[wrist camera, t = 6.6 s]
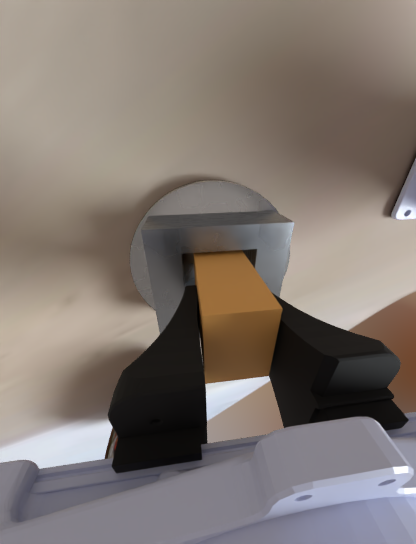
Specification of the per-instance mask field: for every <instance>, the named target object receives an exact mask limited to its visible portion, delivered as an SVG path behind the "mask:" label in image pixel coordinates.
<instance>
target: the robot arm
mask: <svg viewBox="0 0 416 544" xmlns="http://www.w3.org/2000/svg"><path fill="white" fill-rule="evenodd" d="M404 213H405V214H404ZM391 216H392V218H393V219H397V220H402V219H416V159H415V161H414V163H413V165H412V168H411V170H410V172H409V175H408V177H407V179H406V182H405V184H404V186H403V188H402V191H401V193H400V195H399V198H398V200H397V202H396V204H395V207H394V209H393V211H392V214H391ZM271 293H272V292H271ZM272 294H273V293H272ZM273 296H274V297H275V298H276V300H277V301H278V303H279V304H280V306H281V307H282V308H283V309H282V314H281V319H280V324H279V329H278V334H277V338H276V343H275V348H274V353H273V358H272V363H271V367H270V372H269V377H270V380H271V383H272V386H273V389H274V393H275V397H276V400H277V403H278V407H279V410H280V414H281V418H282V422H283V426H284V428H283V429H279V430H275V431H273V432H271V433H269V434H267V435H261V436H254V437H247V438H241V439H235V440H228V441H222V442H214V443H208V444H207V414H206V387H205V377H204V369H203V362H202V354H201V347H200V329H199V309H198V292H197V286H196V285H190V286H186V287H185V291H184V294H183V297H182V299H181V302H180V304H179V306H178V308H177V310H176V312H175V313H174V315H173V317H172V319H171V320H170V322H169V323H168V325H167V326H166V328H165V329H164V330H163V331H162V333H161V334H160V335H159V337H158V338H157V339H156V340H155V341H154V342H153V343H152V344H151V346H150V347H149V348H148V349H147V350H146V351H145V352H144V353H143V354H142V355H141V356H140V357H139V358H137V359H136V360H135V361H134V362H133V363H132V364H131V365H129V366H128V367H127V368H126V369H125V370H123V372H122V375H121V377H120V379H119V381H118V384H117V386H116V388H115V391H114V394H113V397H112V401H111V405H110V408H109V412H108V417H109V421H110V423H111V425H112V426H113V428H114V430H115V432H116V434H117V436H118V440H117V445H116V449H115V453H114V458H109V459H102V460H96V461H89V462H82V463H76V464H69V465H63V466H56V467H50V468H43V469H39V468H38V466H37V465H36V464H35V463H34V462H32V461H29V460H17V461H10V462H3V463H0V544H416V412H412V413H406V414H403V412H402V411H401V410H400V409H399V408H398V407H397V406H396V404H395V403H394V402H393V401H392V400H391V399H393V398H394V395H393V394H392V392H391V391H390V390H389V389H388V388H387V387H388V385H389V384H390V382H391V381H392V380H393V378H394V377H395V375H396V374H397V373H398V371H399V369H400V360H399V358H398V357H397V356H396V355H395V354H394V353H393V352H392V351H391V350H389V349H388V348H387V347H386V346H385V345H384V344H383V343H382V342H381V341H379V340H375V339H372V338H369V337H365V336H362V335H358V334H355V333H352V332H349V331H346V330H343V329H341V328H338V327H335V326H333V325H330V324H328V323H325V322H323V321H321V320H318V319H316V318H314V317H312V316H310V315H308V314H306V313H304V312H302V311H300V310H298V309H297V308H295V307H293V306H292V305H290V304H288V303H287V302H285V301H284V300H282V299H281V298H279V297H278V296H276V295H275V294H273Z"/></svg>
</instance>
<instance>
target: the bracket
mask: <svg viewBox="0 0 416 544" xmlns="http://www.w3.org/2000/svg"><path fill="white" fill-rule="evenodd" d="M293 227H294V222H293V221H291V220H289V219H287V218H286V217H284V216H282V215H280V214H279V213H278V211H277V210H276V209H275V208H274V206H273V205H272V204H271V203H270V202H269V201H268V200H266V199H265V198H264V197H262V196H261V195H260V194H258V193H256V192H254V191H253V190H251V189H249V188H247V187H244V186H241V185H239V184H236V183H232V182H227V181H219V180H207V181H198V182H194V183H190V184H186V185H184V186H181V187H179V188H176V189H174V190H173V191H171V192H169V193H168V194H166V195H165V196H163V197H162V198H161V199H159V200H158V201H157V202H156V203H155V204H154V205H153V206H152V207H151V208H150V209H149V210H148V212H147V213H146V215H145V216H144V218H143V219H142V220H141V222H140V224H139V226H138V228H137V230H136V232H135V234H134V237H133V240H132V244H131V250H130V268H131V274H132V277H133V280H134V283H135V285H136V287H137V290H138V291H139V293H140V294H141V296H142V297H143V299H144V300H145V301H146V302H147V303H148V304H149V305H150V306H151V307H152V308H153V309H154V310H155V311H156V315H157V320H158V325H159V331H160V334H161V333H162V331H163V330H164V329H165V328H166V326H167V325H168V323H169V322H170V320H171V319H172V317H173V315H174V313H175V312H176V310H177V308H178V306H179V304H180V302H181V299H182V297H183V294H184V291H185V287H186V286H190V285H195V274H194V257H193V253H199V252H216V251H232V250H242V251H243V252H244V254H245V255H246V257H247V258H248V260H249V261H250V262H251V264H252V265H253V267H254V268H255V270H256V271H257V273H258V274H259V275H260V277H261V278H262V280H263V281H264V283H265V284H266V285H267V287H268V288H269V290H270V291H271V292H272V293H273V294H275V295H276V296H278V297H279V296H280V291H281V286H282V281H283V278H284V276H285V273H286V271H287V267H288V263H289V257H290V242H291V237H292V232H293Z"/></svg>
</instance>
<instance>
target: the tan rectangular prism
mask: <svg viewBox="0 0 416 544" xmlns="http://www.w3.org/2000/svg"><path fill="white" fill-rule="evenodd" d="M193 257H194V274H195V285H196V286H197V292H198V309H199V329H200V340H201V349H202V359H203V368H204V377H205V384H207V383H215V382H223V381H231V380H239V379H247V378H255V377H264V376H269V372H270V367H271V363H272V358H273V353H274V348H275V343H276V338H277V334H278V329H279V324H280V319H281V314H282V309H283V308H282V307H281V306H280V304H279V303H278V301H277V300H276V298H275V297H274V296H273V294H272V293H271V291H270V290H269V288H268V287H267V285H266V284H265V283H264V281H263V280H262V278H261V277H260V275H259V274H258V273H257V271H256V270H255V268H254V267H253V265H252V264H251V262H250V261H249V260H248V258H247V257H246V255H245V254H244V252H243V251H242V250H232V251H216V252H199V253H193Z"/></svg>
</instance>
